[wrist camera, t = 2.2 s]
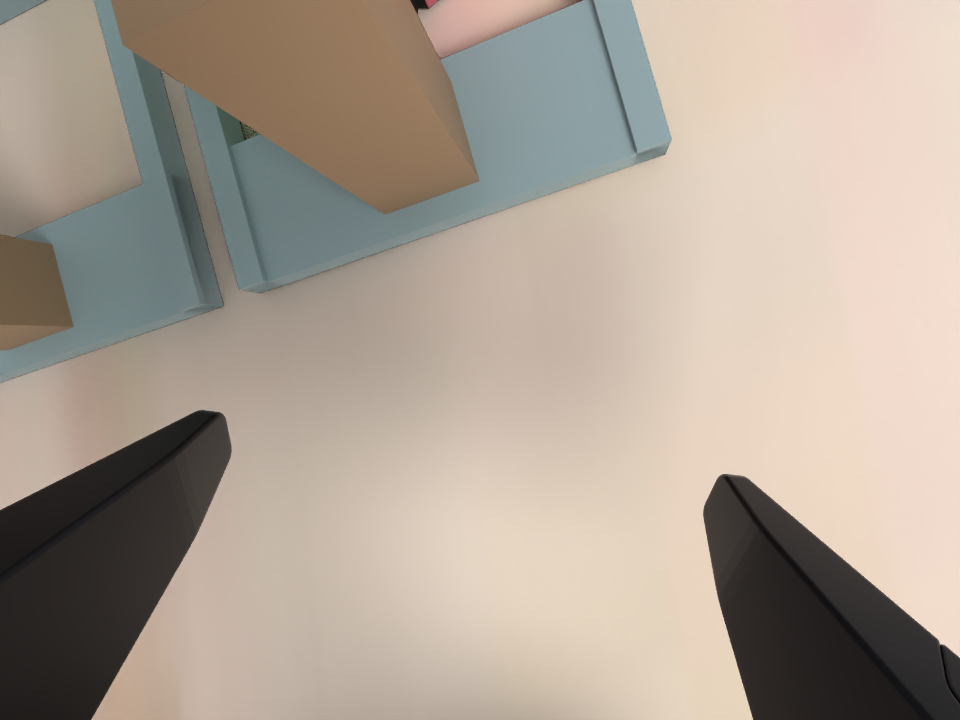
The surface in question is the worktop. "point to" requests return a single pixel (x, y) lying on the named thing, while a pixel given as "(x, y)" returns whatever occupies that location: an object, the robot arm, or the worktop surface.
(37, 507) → the robot arm
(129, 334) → the tray with brown post
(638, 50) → the cube lane
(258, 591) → the worktop surface
